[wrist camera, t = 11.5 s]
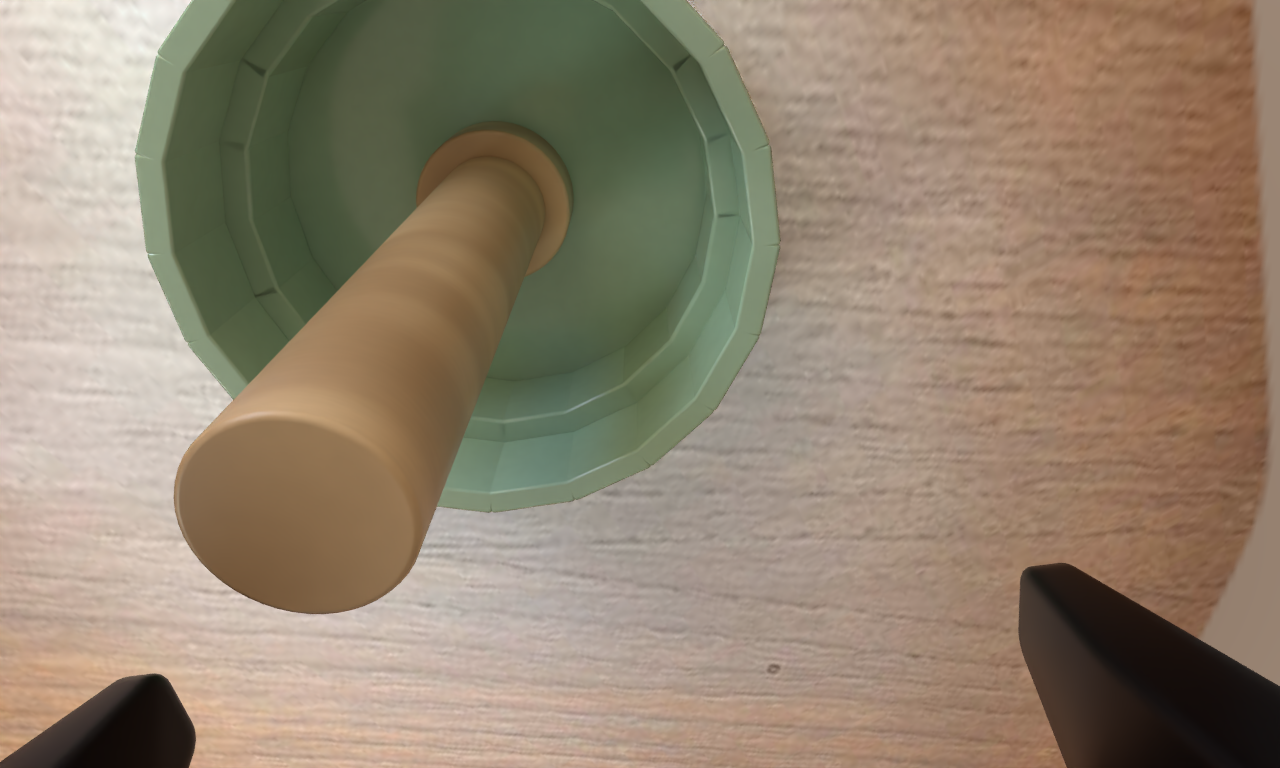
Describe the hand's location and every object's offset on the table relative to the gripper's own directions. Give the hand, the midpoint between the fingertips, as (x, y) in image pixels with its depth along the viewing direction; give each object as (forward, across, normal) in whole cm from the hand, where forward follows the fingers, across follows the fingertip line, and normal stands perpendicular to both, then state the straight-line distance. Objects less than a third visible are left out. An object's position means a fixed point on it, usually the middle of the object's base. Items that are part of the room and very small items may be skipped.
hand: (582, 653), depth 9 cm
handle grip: (+12, +2, -2) cm, 12 cm away
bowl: (+12, +2, -2) cm, 13 cm away
